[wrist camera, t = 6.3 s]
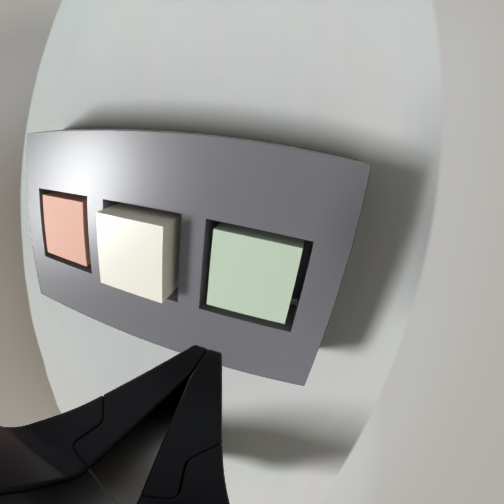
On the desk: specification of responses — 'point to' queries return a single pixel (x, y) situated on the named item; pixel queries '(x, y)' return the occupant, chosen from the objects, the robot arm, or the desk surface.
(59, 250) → the terracotta key
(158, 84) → the desk surface
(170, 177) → the keyguard
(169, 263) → the cream key
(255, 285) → the sage key
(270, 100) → the desk surface
